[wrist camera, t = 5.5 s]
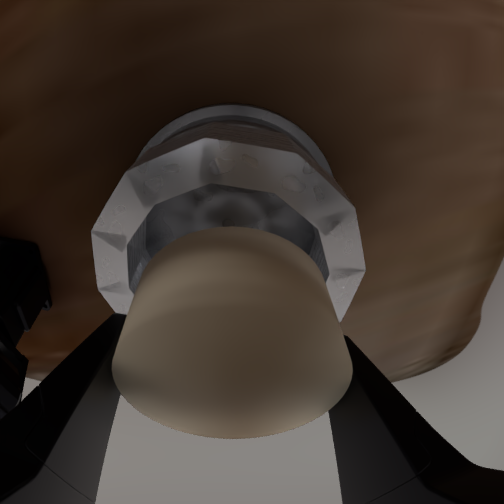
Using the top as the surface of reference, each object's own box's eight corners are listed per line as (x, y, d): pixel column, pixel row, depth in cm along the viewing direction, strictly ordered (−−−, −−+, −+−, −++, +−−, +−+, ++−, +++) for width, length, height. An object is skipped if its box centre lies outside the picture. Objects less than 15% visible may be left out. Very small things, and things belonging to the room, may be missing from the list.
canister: (132, 272, 21) (101, 350, 15) (138, 92, 14) (76, 113, 9) (302, 296, 22) (319, 376, 16) (357, 129, 16) (417, 171, 10)
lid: (143, 357, 11) (129, 426, 8) (133, 213, 8) (92, 286, 5) (298, 372, 12) (309, 439, 9) (354, 242, 9) (394, 318, 6)
